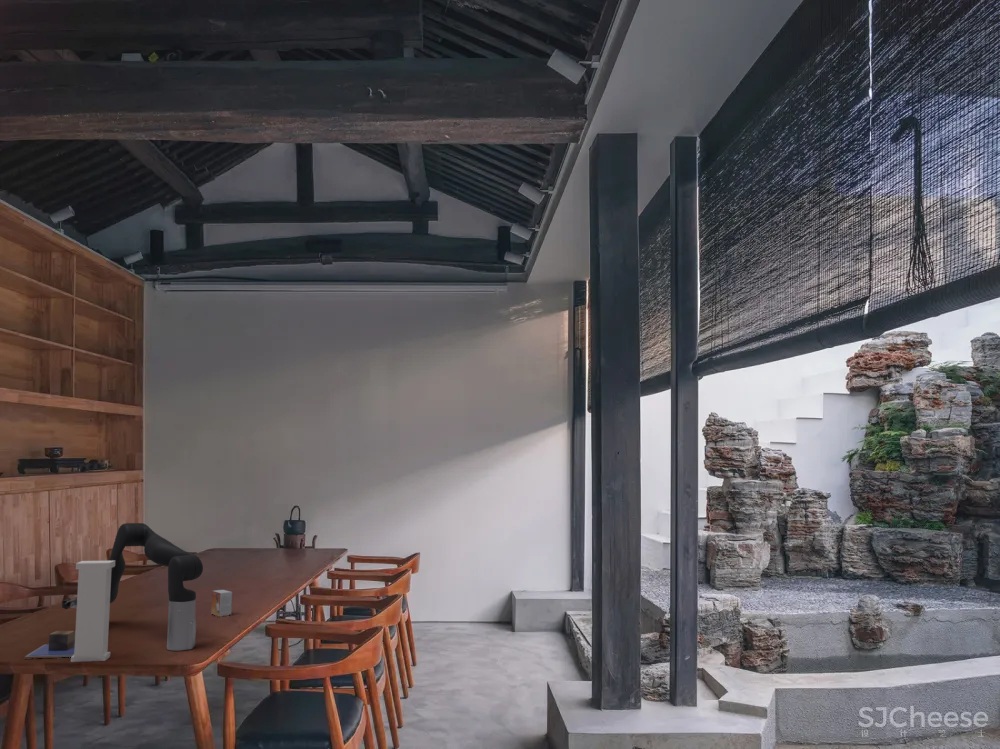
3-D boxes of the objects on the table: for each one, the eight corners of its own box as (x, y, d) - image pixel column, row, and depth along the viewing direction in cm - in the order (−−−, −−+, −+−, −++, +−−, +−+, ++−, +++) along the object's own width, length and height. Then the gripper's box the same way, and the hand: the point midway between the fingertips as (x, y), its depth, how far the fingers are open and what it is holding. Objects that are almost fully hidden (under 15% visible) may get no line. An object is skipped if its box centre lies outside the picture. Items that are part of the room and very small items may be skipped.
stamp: (85, 640, 308) (86, 625, 309) (66, 650, 293) (67, 634, 294) (67, 640, 308) (68, 625, 308) (47, 650, 293) (48, 634, 293)
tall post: (110, 656, 291) (115, 560, 294) (105, 660, 284) (109, 562, 287) (77, 657, 289) (82, 560, 292) (70, 661, 282) (75, 563, 285)
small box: (210, 615, 364) (211, 590, 365) (222, 613, 368) (223, 589, 369) (219, 617, 358) (220, 592, 359) (231, 616, 362) (232, 591, 363)
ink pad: (90, 645, 305) (91, 642, 306) (74, 657, 288) (74, 654, 288) (44, 647, 303) (44, 644, 303) (24, 659, 285) (24, 656, 285)
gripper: (72, 589, 325) (57, 596, 309) (111, 588, 328) (98, 594, 312) (71, 609, 324) (56, 616, 309) (110, 607, 327) (97, 615, 311)
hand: (77, 605), depth 310 cm, fingers open, 8 cm apart
